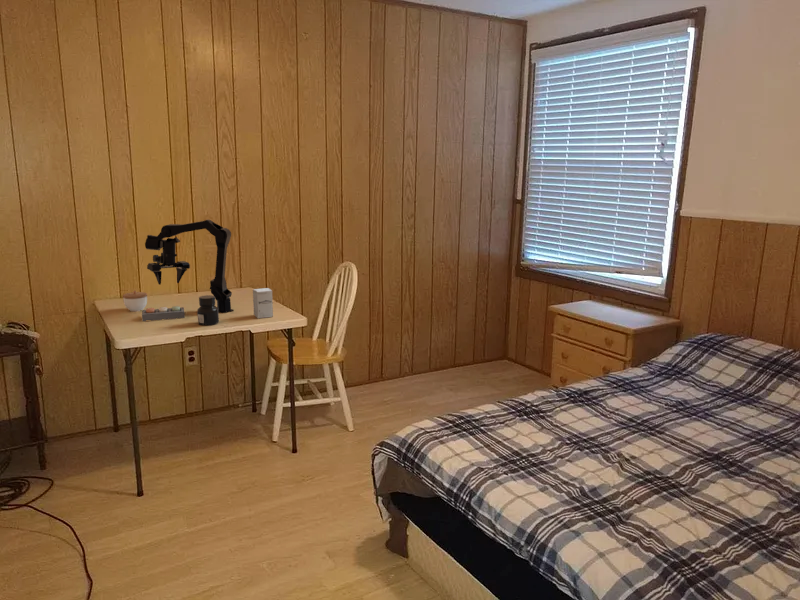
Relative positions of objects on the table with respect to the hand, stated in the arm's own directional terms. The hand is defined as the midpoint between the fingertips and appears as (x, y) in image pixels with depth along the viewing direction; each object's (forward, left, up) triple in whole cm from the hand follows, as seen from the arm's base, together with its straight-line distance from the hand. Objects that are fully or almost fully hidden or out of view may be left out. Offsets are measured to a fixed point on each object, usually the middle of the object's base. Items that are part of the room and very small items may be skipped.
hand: (168, 283), depth 291 cm
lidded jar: (+14, +10, -13) cm, 22 cm away
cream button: (-9, +9, -11) cm, 17 cm away
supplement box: (-42, -22, -13) cm, 49 cm away
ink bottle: (-34, +2, -13) cm, 37 cm away
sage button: (-12, +4, -11) cm, 17 cm away
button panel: (-9, +9, -13) cm, 18 cm away
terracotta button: (-7, +14, -11) cm, 19 cm away
